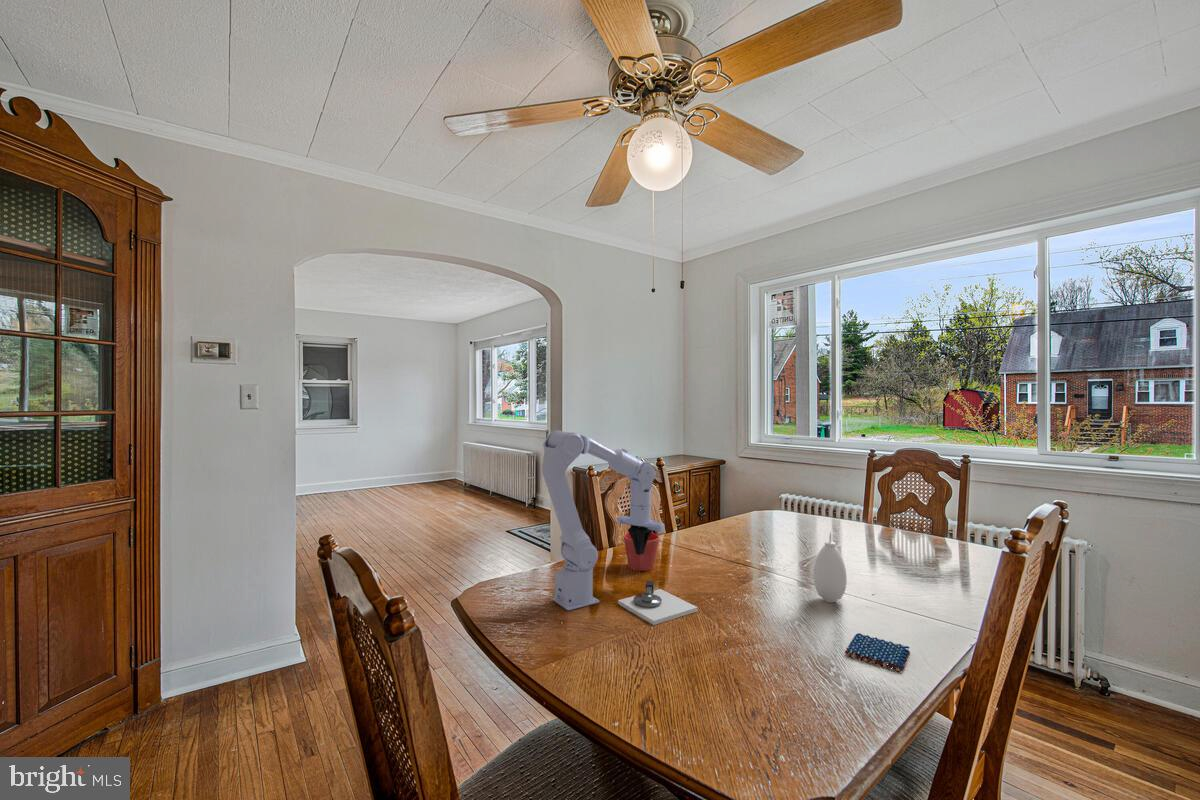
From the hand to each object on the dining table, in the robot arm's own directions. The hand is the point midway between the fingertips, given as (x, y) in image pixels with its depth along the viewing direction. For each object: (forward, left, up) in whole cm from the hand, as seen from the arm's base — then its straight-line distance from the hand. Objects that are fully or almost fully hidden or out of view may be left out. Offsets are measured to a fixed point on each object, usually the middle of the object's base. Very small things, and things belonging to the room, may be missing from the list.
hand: (639, 553), depth 139 cm
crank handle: (-5, -10, -8) cm, 13 cm away
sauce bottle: (+36, -34, -10) cm, 50 cm away
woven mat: (+19, -55, -10) cm, 59 cm away
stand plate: (-5, -13, -9) cm, 17 cm away
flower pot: (+11, +13, -10) cm, 19 cm away
